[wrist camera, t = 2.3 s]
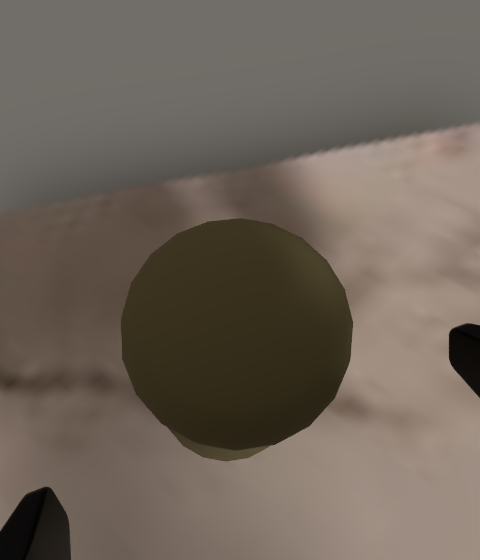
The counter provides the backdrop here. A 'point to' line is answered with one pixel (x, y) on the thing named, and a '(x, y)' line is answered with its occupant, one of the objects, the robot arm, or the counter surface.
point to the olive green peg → (236, 336)
